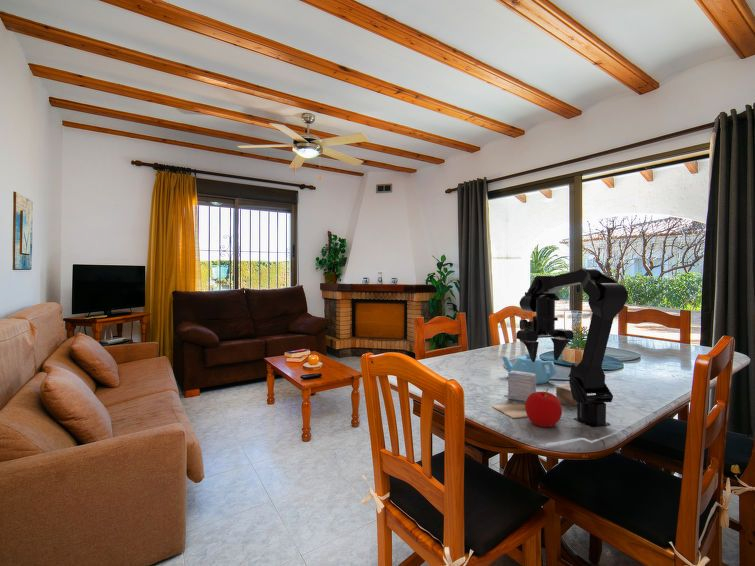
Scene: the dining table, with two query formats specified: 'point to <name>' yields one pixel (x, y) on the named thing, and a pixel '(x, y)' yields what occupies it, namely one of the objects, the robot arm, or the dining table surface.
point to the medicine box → (521, 385)
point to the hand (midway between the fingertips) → (544, 360)
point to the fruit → (543, 409)
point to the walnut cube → (565, 395)
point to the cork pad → (512, 410)
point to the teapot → (532, 367)
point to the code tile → (517, 400)
